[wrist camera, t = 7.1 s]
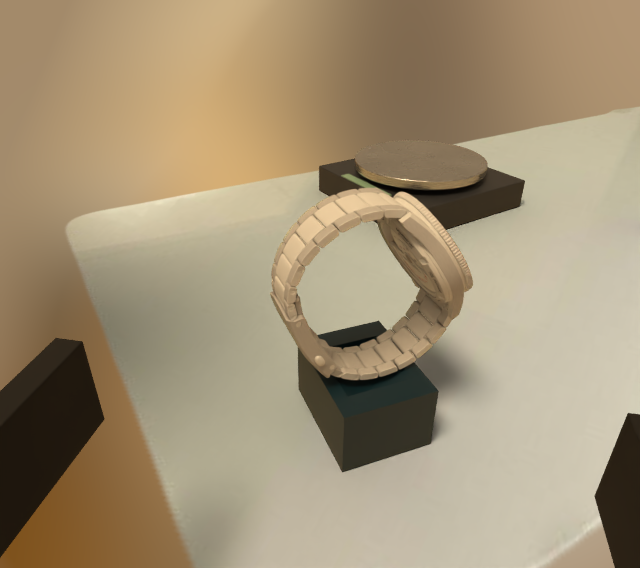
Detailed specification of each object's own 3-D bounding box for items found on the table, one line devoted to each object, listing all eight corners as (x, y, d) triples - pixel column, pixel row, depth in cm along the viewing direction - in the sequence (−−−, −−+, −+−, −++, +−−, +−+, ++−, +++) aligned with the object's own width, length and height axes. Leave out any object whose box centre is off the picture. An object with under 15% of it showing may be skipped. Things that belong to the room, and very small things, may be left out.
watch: (467, 431, 25) (511, 209, 19) (303, 484, 22) (298, 246, 16) (406, 359, 29) (428, 162, 23) (264, 396, 27) (250, 186, 21)
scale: (409, 241, 42) (412, 211, 40) (318, 190, 51) (318, 164, 50) (520, 206, 48) (525, 179, 46) (421, 166, 57) (423, 143, 56)
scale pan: (413, 201, 41) (414, 191, 40) (329, 161, 49) (329, 152, 49) (514, 173, 46) (516, 164, 46) (423, 141, 55) (424, 133, 54)
